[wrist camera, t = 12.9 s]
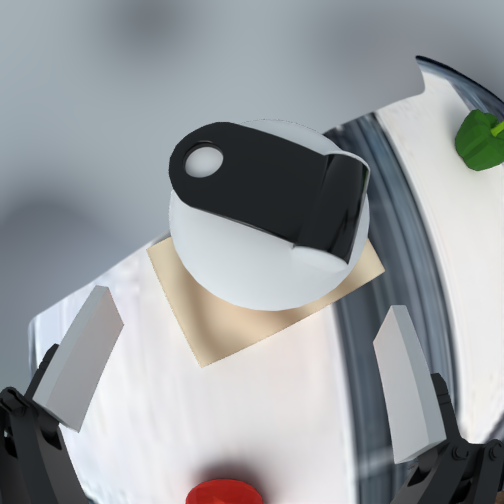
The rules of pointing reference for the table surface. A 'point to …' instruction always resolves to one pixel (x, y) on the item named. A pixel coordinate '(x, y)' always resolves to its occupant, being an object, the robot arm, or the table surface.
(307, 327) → the table surface
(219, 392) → the table surface
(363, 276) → the oak board
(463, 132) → the bell pepper
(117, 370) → the table surface
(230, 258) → the shaker bottle
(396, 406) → the robot arm
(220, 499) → the tomato
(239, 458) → the table surface
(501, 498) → the jug
